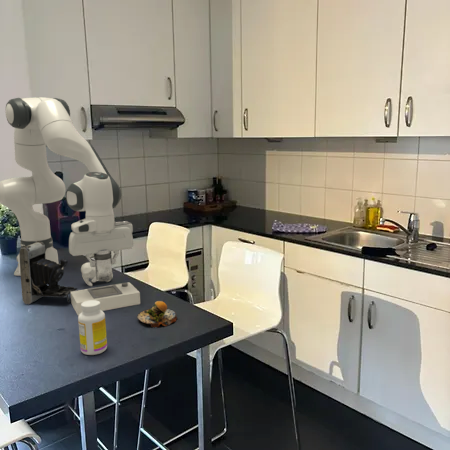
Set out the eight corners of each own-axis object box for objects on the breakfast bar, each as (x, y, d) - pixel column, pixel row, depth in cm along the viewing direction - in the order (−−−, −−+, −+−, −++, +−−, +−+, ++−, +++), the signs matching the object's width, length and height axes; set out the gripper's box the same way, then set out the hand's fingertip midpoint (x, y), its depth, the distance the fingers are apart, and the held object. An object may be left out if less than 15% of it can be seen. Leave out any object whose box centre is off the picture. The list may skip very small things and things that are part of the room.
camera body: (71, 303, 151) (70, 289, 150) (130, 293, 160) (129, 280, 159) (77, 315, 140) (76, 300, 140) (140, 303, 150) (139, 290, 149)
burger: (145, 311, 144) (144, 289, 142) (181, 314, 142) (180, 291, 140) (131, 327, 132) (129, 303, 131) (170, 330, 130) (169, 305, 129)
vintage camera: (63, 309, 147) (61, 249, 143) (21, 304, 150) (18, 245, 146) (78, 299, 156) (77, 243, 153) (38, 294, 159) (36, 239, 156)
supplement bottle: (110, 344, 121) (107, 298, 118) (103, 356, 114) (99, 308, 112) (85, 344, 121) (82, 298, 118) (76, 356, 115) (73, 308, 112)
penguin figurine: (80, 261, 170) (111, 260, 175) (79, 282, 171) (110, 280, 177) (82, 265, 165) (115, 264, 170) (82, 287, 166) (114, 285, 171)
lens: (93, 277, 149) (91, 248, 148) (110, 275, 152) (108, 246, 150) (97, 282, 145) (95, 251, 143) (114, 279, 147) (112, 249, 145)
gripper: (129, 219, 152) (131, 258, 155) (66, 225, 143) (69, 267, 146) (135, 221, 147) (137, 263, 149) (69, 228, 138) (72, 272, 140)
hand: (103, 265), depth 147 cm, fingers closed on lens, 5 cm apart
